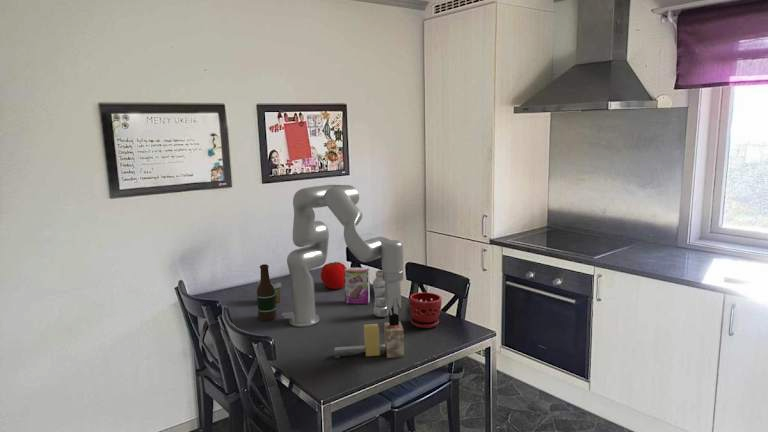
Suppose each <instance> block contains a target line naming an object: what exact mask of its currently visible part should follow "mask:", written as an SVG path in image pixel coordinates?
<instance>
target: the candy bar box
mask: <svg viewBox="0 0 768 432" xmlns="http://www.w3.org/2000/svg"><path fill="white" fill-rule="evenodd" d="M344 275H345V286H344V304H345V305H347V304H349V305H369V304H370V300H371V295H370V294H371V292H370V289H371V288H370V268H369V267H346V269H345V270H344Z"/></svg>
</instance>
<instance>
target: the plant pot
mask: <svg viewBox="0 0 768 432" xmlns="http://www.w3.org/2000/svg"><path fill="white" fill-rule="evenodd" d="M442 300H443V299H442V296H441V295H439V294H437V293H433V292H425V291H424V292H423V291H422V292H416V293H412V294H410V296H409V302H408V303H409V312H410V315H411V319H410V323H411V324H412V326H415V327H417V328H421V329H430V328H434V327H437V325H438V324H439V323H440V320H439V316H440V314H441V310H442V303H443V301H442Z"/></svg>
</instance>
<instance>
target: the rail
mask: <svg viewBox="0 0 768 432" xmlns="http://www.w3.org/2000/svg"><path fill="white" fill-rule="evenodd" d="M385 350H386V344H385V343H380V355H379V356H384V355H386V351H385ZM359 352H366V348H365V344H364V345H351V346H337V347H334V359H341V354H345V353H348V354H349V353H359Z"/></svg>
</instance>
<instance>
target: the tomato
mask: <svg viewBox="0 0 768 432" xmlns="http://www.w3.org/2000/svg"><path fill="white" fill-rule="evenodd" d="M322 266H323V267H322V268H321V270H320V271H321V272H320V278H321V281H322V283H323V284H324V285H325V287H327V288H329V289H332V290H338V289H343V288H345V275H344V270H345V269H346V268H347V267H346V265H345V264H344V263H342V262H339V261H333V262H328V263H326V264H325V263H324V264H323V265H322Z"/></svg>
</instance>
